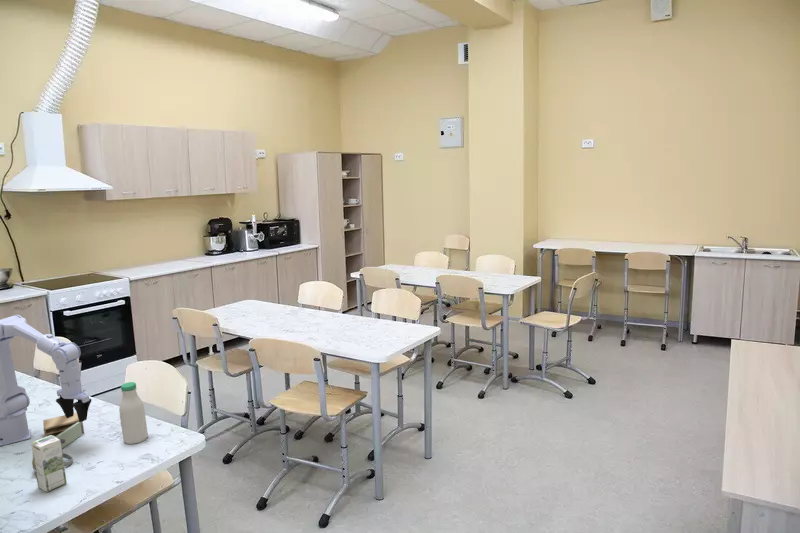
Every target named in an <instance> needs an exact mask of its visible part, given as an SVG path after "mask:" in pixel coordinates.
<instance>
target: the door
mask: <svg viewBox="0 0 800 533" xmlns="http://www.w3.org/2000/svg"><path fill="white" fill-rule="evenodd" d="M82 435H83V434H82V430H81V423H80V422H77V423H76V424H74V425H73V426H71V427H69V428H68V429H66V430H65V431H63V432H62V433H60V434H59V435H57V436H56V437H57V438H58V439H59V440H60V442H61V448H62V449H63V448H65V447H66V446H67V445H69V444H70V443H72V442H73V441H75V440H77V439H78V438H79V437H81V436H82Z"/></svg>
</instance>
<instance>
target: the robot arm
mask: <svg viewBox="0 0 800 533" xmlns="http://www.w3.org/2000/svg"><path fill="white" fill-rule="evenodd" d="M17 336H19V337H20V338H22V339H24V340H27V341H29V342H30V343H33V344H36V348H37V350H39V351H41V352H42V353H43V354H45V355H48V356H50V357H51V359H52V361H53V363H54V365H55V367H56V370H58V376H59V381H60V387H61V388H60V389H58V390H56V395H57V396H58V398H56V399H55V402H56V403H57V404H58V405H59V406H60V408H61V410H62V411H63V413H64V415H65V416H66V418H69V417H72V416H73V415H74V413H77V415H78V419H79V421H80V422H84V421H87V419H88V412H89V408H90V405H91V403H92V398H90V395H89V394H87V393H86V389H85V388H83V387H82V381H81V376H80V375H81V374H80V369H79V362H78V359H80V357H81V353H82V352H81V348H80V346H78V344H76V343H75V342H65V341H63V340H60V339H59V338H57V337H56V336H54V334H52V333H46V334H43V333H41V332H40V331H39V330H37V329H35V328H34V327H33V326H31V325H29V323H28V321H27V319H26V318H25V317H22V316H21V315H20V314H13V315H12V316H9V317H4V318H1V319H0V447H2V446H5V445H9V444H14V443H18V442H22V441H26V440H30V439H31V437H32V436H31V435H32V432H31V431H32V430H31V429H30V428H29V425H28V424H29V423H28V419H27V413H26V411H28V407H29V406H30V402H31V401H30V397H29V395H28V393H27V391H26V388H25V387H22V386H19V385H18V380H17V379H18V378H17V375H16V370H15V367H14V361H13V356H12V352H11V347H10V346H11V345H10V342H11V341H12V340H13V339H14V338H15V337H17ZM75 400H76V401H75ZM74 401H75V402H74ZM74 410H75V412H74Z"/></svg>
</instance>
